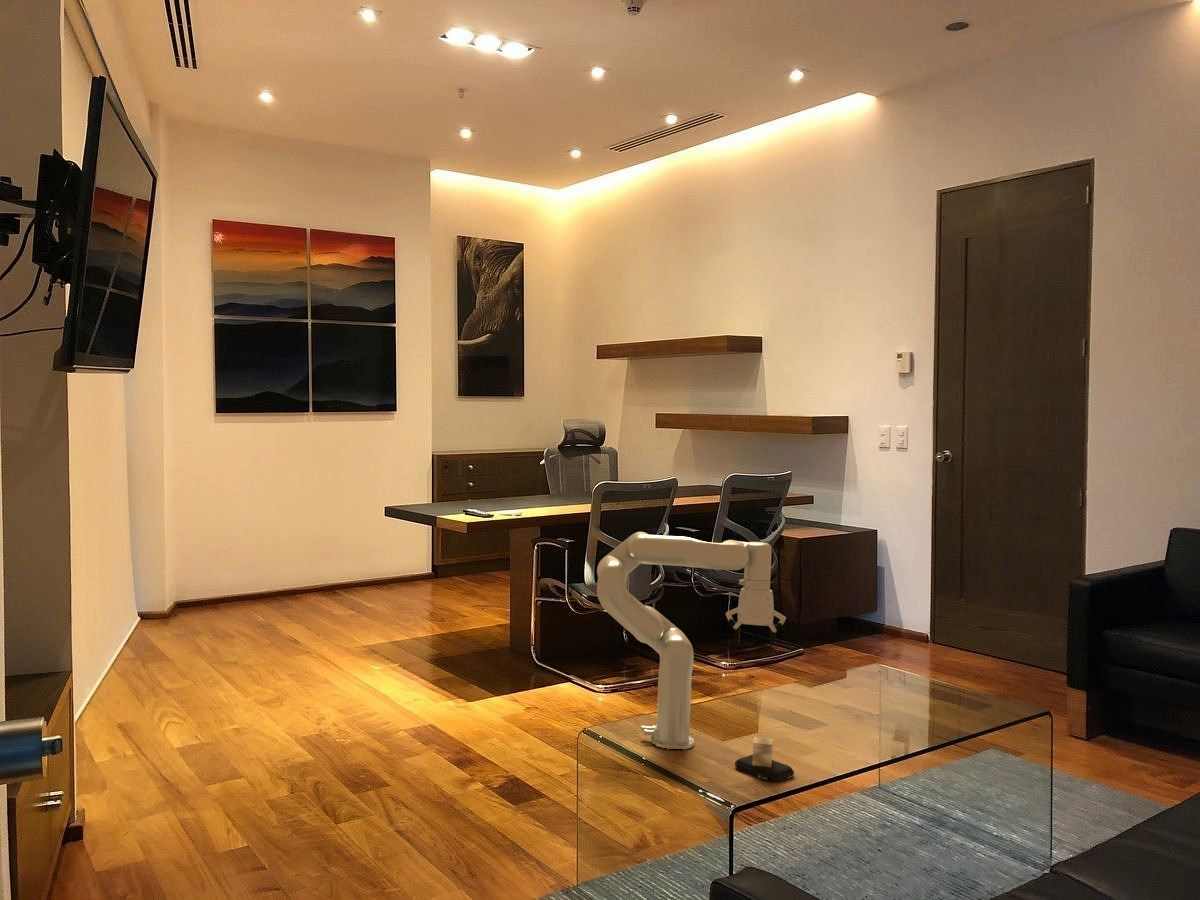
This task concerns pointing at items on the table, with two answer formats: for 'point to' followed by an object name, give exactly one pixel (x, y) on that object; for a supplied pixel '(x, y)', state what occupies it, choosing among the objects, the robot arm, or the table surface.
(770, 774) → the carrying case or bag
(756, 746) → the birch block
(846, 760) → the table surface
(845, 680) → the table surface
